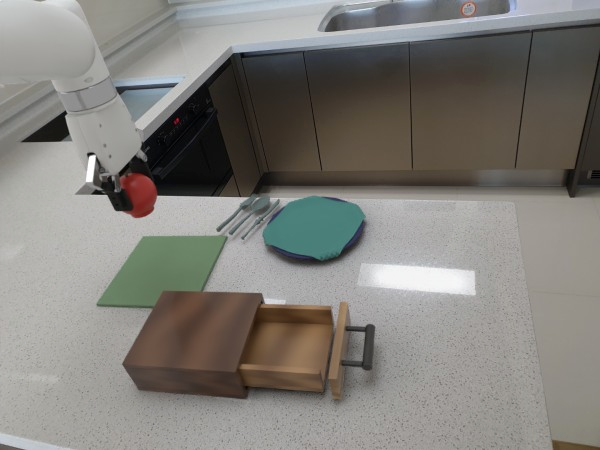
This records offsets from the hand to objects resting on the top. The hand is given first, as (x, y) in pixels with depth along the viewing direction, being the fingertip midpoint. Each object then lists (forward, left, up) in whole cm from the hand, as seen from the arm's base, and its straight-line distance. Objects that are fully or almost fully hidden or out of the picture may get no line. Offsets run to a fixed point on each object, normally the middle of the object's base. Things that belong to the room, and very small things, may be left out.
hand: (135, 195), depth 76 cm
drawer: (-16, -29, -19) cm, 38 cm away
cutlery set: (+16, -20, -20) cm, 33 cm away
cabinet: (-16, -12, -20) cm, 28 cm away
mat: (+3, +4, -20) cm, 21 cm away
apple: (0, 0, 0) cm, 0 cm away
